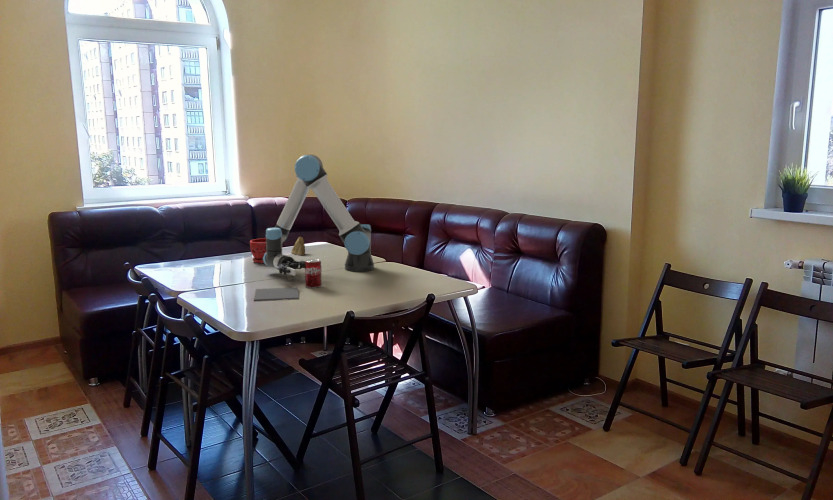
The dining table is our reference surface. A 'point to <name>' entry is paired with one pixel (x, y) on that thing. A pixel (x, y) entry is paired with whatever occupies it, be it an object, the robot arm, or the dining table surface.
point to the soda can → (313, 273)
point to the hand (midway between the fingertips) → (308, 270)
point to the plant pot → (258, 249)
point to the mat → (276, 294)
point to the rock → (299, 247)
